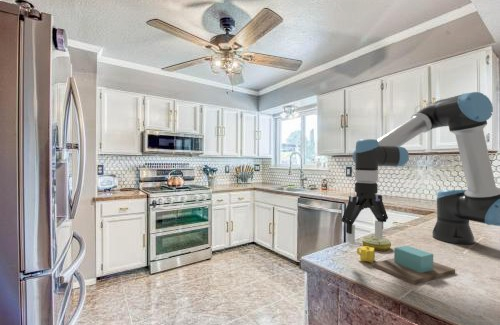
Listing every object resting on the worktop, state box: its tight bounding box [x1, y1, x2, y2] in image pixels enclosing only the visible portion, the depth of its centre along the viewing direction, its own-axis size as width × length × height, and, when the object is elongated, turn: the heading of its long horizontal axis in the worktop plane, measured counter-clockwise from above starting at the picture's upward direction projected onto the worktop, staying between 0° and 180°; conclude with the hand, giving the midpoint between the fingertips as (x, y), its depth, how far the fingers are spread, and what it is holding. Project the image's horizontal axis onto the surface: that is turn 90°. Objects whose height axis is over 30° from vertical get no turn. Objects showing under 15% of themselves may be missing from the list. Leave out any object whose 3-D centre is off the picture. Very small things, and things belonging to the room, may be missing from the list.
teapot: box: [356, 245, 376, 264], centre depth 91 cm, size 8×6×5 cm
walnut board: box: [372, 257, 456, 285], centre depth 84 cm, size 20×14×1 cm
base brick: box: [393, 245, 434, 273], centre depth 84 cm, size 6×9×5 cm, turn 23°
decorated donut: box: [361, 235, 392, 252], centre depth 106 cm, size 10×11×4 cm
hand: (365, 240), depth 91 cm, fingers open, 13 cm apart
